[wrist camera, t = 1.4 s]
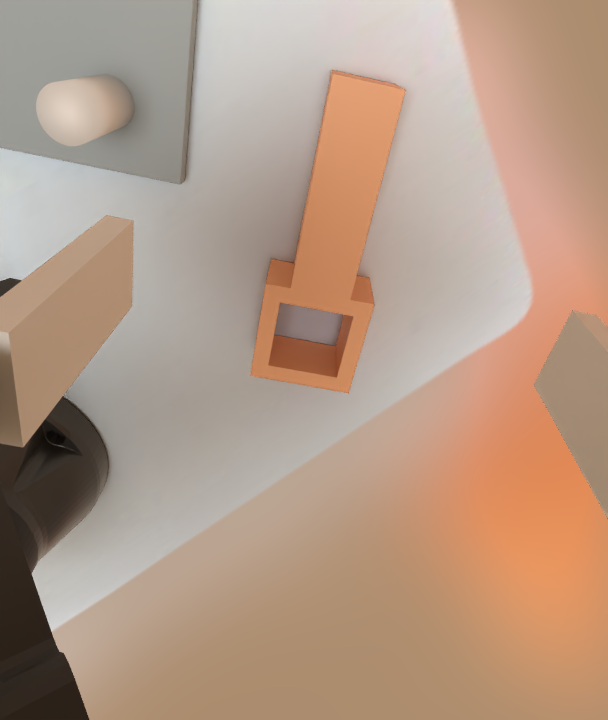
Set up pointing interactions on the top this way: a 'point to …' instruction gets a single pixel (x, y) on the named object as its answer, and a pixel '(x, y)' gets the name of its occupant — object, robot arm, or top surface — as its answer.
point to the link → (332, 237)
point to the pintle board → (102, 49)
